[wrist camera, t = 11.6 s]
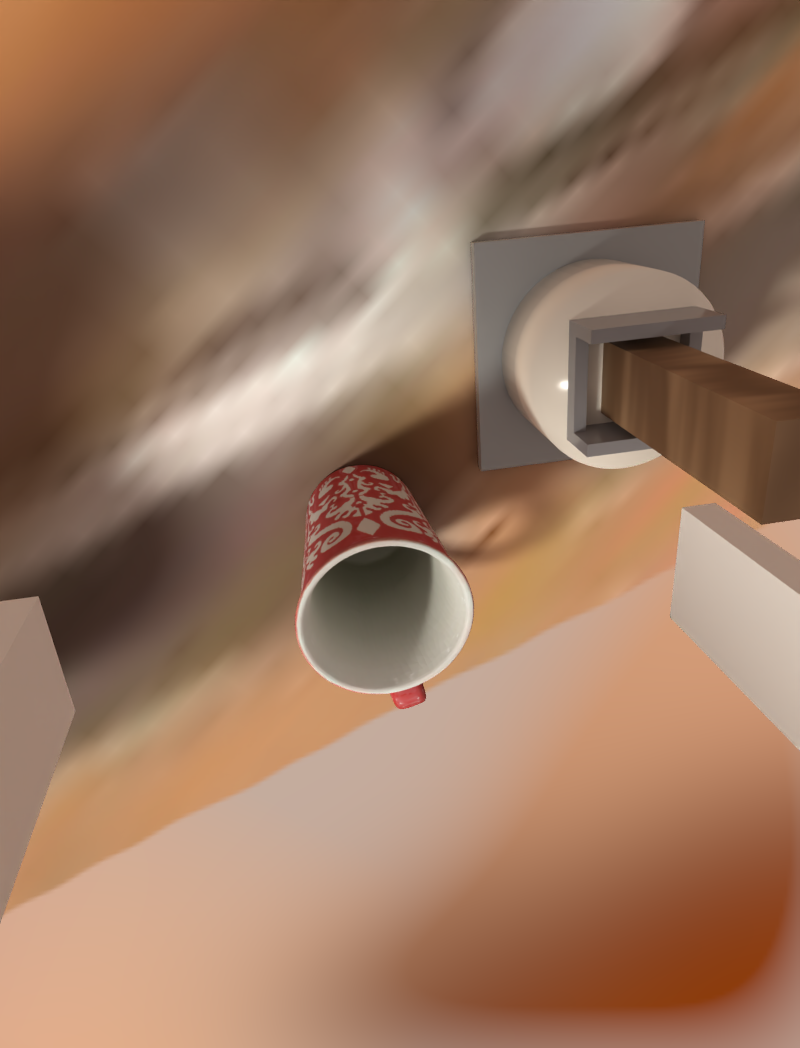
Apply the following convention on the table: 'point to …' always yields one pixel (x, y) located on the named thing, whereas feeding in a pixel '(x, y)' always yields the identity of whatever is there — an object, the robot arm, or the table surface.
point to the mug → (378, 589)
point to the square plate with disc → (576, 335)
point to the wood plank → (709, 421)
